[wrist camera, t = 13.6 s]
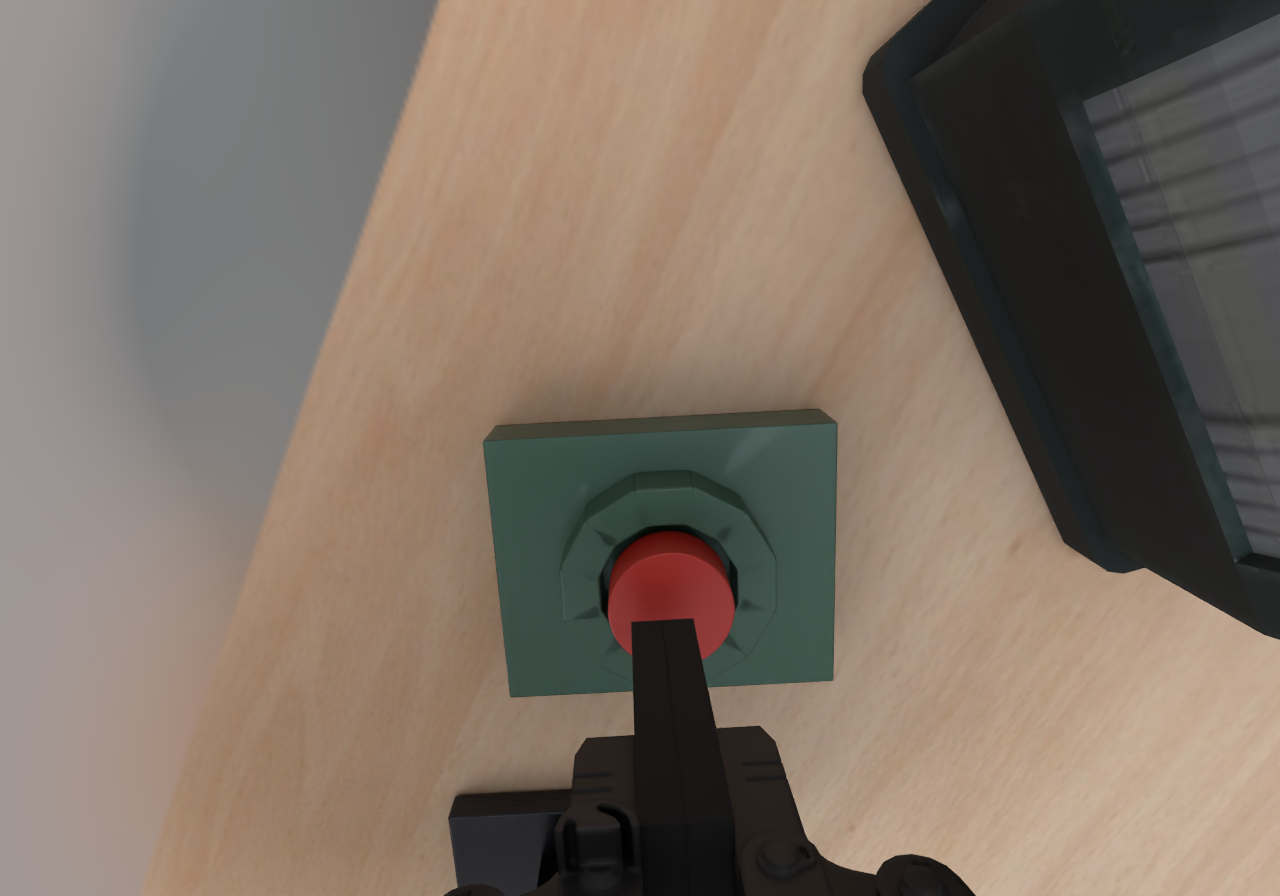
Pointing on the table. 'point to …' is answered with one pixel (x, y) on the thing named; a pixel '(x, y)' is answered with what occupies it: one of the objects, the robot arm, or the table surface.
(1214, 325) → the light fixture
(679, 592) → the button
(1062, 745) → the table surface
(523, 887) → the switch bracket
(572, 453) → the button box
